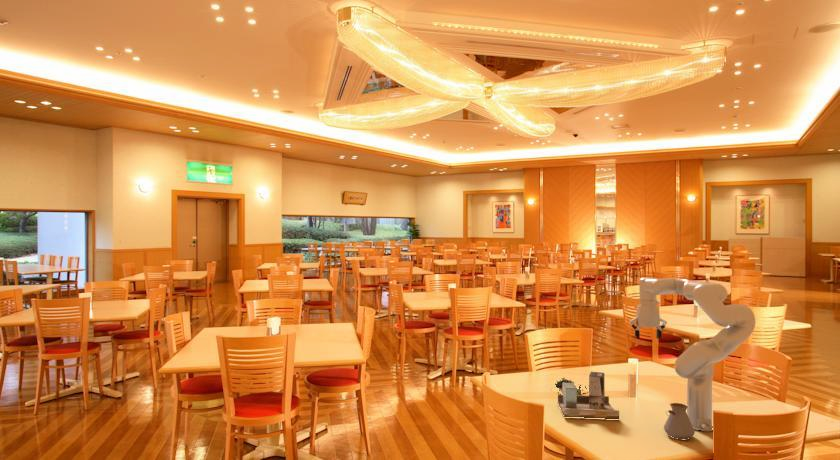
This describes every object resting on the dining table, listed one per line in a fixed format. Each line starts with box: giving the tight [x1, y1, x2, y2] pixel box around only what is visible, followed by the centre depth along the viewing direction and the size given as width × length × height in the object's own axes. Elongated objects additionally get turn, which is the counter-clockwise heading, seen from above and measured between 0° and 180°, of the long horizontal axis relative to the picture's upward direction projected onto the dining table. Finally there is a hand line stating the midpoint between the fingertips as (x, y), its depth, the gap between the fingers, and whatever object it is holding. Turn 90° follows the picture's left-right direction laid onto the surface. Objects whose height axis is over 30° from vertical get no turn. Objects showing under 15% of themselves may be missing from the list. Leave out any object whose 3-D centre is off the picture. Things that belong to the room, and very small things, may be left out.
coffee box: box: [588, 371, 606, 409], centre depth 232 cm, size 9×6×16 cm
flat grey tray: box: [557, 394, 620, 420], centre depth 233 cm, size 18×24×5 cm
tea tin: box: [562, 382, 577, 409], centre depth 234 cm, size 8×5×10 cm, turn 174°
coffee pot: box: [663, 402, 696, 440], centre depth 202 cm, size 21×12×15 cm, turn 139°
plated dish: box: [555, 377, 587, 395], centre depth 264 cm, size 35×28×7 cm
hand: (648, 338), depth 239 cm, fingers open, 9 cm apart
